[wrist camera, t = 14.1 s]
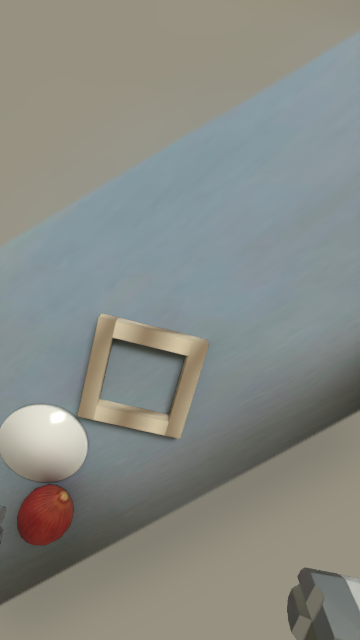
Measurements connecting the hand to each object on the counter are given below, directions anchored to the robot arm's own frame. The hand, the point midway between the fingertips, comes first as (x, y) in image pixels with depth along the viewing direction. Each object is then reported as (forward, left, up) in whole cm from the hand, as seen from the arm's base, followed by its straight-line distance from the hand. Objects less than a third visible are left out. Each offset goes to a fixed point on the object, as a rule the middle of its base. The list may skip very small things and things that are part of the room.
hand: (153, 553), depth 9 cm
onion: (+6, +22, -24) cm, 33 cm away
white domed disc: (+10, +18, -27) cm, 34 cm away
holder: (+1, +7, -27) cm, 28 cm away
